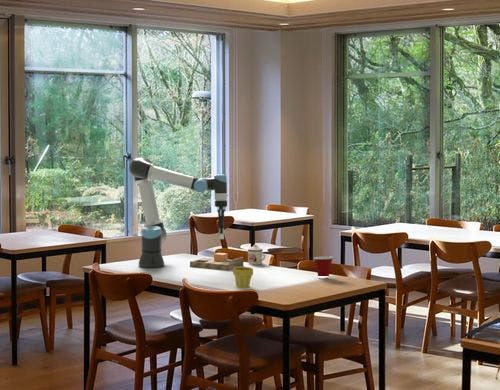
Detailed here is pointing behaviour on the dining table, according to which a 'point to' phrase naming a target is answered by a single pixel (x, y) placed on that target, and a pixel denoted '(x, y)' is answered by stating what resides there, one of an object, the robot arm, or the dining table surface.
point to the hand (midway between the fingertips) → (221, 238)
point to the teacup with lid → (255, 255)
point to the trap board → (217, 263)
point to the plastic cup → (323, 265)
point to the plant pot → (243, 276)
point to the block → (220, 257)
